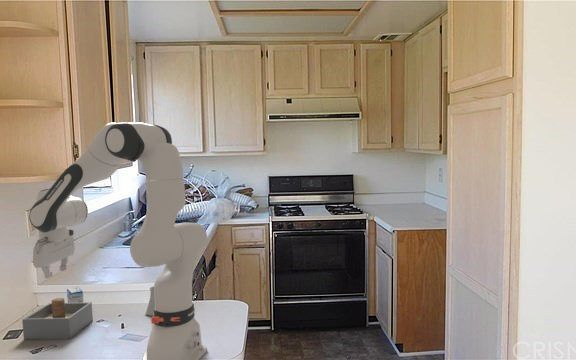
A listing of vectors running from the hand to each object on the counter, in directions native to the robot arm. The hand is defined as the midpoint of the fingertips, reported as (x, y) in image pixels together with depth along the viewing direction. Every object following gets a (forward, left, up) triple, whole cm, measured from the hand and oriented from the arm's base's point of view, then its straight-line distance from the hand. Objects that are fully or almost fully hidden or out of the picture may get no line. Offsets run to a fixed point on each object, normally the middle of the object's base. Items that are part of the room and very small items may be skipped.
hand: (56, 274), depth 159 cm
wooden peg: (0, 0, -19) cm, 19 cm away
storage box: (0, 0, -20) cm, 20 cm away
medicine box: (+19, +4, -20) cm, 28 cm away
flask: (+15, -29, -20) cm, 38 cm away
